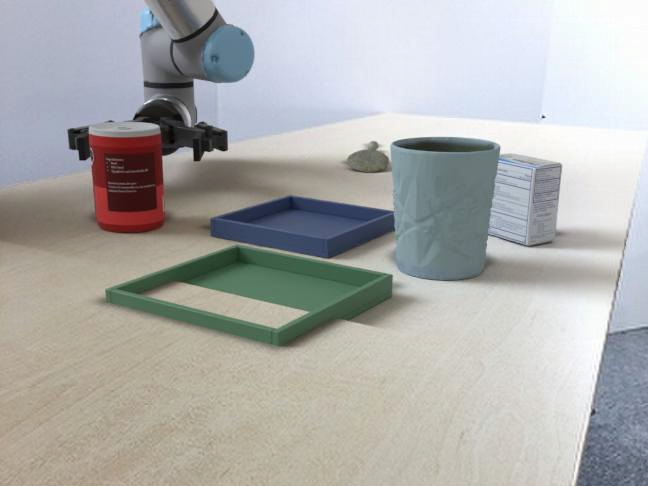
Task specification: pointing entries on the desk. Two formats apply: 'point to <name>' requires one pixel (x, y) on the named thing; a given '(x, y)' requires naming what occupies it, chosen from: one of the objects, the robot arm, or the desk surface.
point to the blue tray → (304, 225)
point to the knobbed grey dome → (368, 159)
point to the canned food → (127, 176)
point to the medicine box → (525, 199)
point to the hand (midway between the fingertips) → (138, 149)
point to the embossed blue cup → (443, 204)
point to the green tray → (262, 290)
